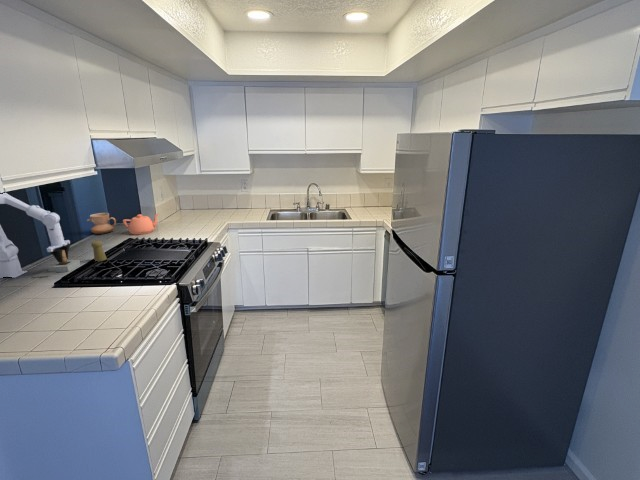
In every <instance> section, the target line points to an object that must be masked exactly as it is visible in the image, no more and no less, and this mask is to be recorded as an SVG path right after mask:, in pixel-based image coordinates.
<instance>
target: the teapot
mask: <svg viewBox="0 0 640 480" xmlns="http://www.w3.org/2000/svg"><path fill="white" fill-rule="evenodd" d="M158 215H160V213H157V214H155V215H154V217H153V219H151V217H149V216H147V215H143V214H141V213H139V214H137V215H136V216H134V217H132V218H131V219H127V218H126V219H123V220H122V224H123V225H124V226H126V228H128V232H129V233H130V234H131V235H133V236H138V235H139V236H140V235H147V234H151V233H153V232H154V231H155V229H156V227H157V225H158ZM127 222H129V224H128V223H127Z"/></svg>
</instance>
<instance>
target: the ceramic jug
mask: <svg viewBox="0 0 640 480" xmlns="http://www.w3.org/2000/svg"><path fill="white" fill-rule="evenodd" d="M110 220H113V224H110V223H109V221H110ZM86 221H87V222H91V223H92V222H93V224H94V226H92V227H91V228H90V229H89V230H90V231H91V233H92V234H96V235H104V234H109V233H111V232H113V231H114V229H115V228H116V227H115V226H116V224H117V219H116V218H115V217H112V216H111V217H110V213H109V212H98V213H93V214H90V215H89V218H88V219H86Z"/></svg>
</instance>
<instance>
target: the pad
mask: <svg viewBox="0 0 640 480" xmlns="http://www.w3.org/2000/svg"><path fill="white" fill-rule="evenodd" d="M56 273H58V272H49V271H48V270H43V271H41V272H39V273H37V274H35V275H33V276H32V278H35V279H36V278H49V277H50V276H53V275H55V274H56Z"/></svg>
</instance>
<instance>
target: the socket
mask: <svg viewBox="0 0 640 480" xmlns="http://www.w3.org/2000/svg"><path fill="white" fill-rule="evenodd" d="M67 261H68V264H66V265H60V264H59V262H58V261H57V262H55V263H53V264H51V265H49V266H48V267H47V271H49V272H57V273H68V272H69V273H70V271H73V270H74V269H76V268H77V267H79V266H80V265H81V261H80V259H69V260H68V259H67Z"/></svg>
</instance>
